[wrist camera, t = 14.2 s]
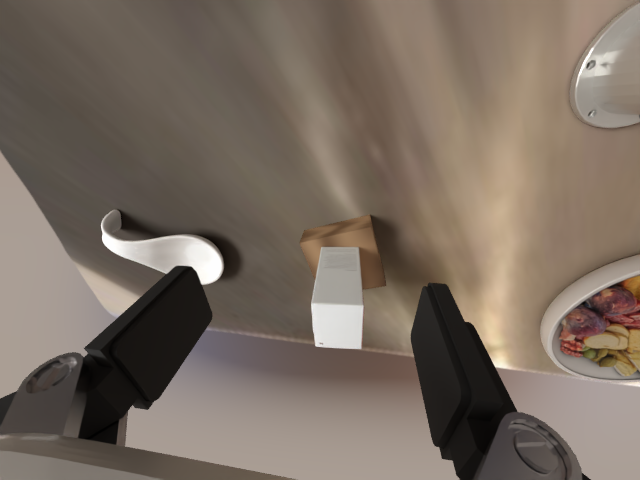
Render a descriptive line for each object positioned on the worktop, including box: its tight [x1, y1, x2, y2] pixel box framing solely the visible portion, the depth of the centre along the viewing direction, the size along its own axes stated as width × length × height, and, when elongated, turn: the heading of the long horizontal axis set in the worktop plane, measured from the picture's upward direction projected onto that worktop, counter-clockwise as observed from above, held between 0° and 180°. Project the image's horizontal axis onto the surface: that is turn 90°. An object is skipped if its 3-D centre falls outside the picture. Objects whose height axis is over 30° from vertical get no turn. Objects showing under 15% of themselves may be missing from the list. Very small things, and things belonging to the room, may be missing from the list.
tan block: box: [300, 215, 386, 290], centre depth 42 cm, size 12×12×5 cm
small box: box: [311, 247, 364, 349], centre depth 35 cm, size 8×6×13 cm
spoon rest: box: [101, 209, 224, 284], centre depth 45 cm, size 24×12×7 cm, turn 69°
